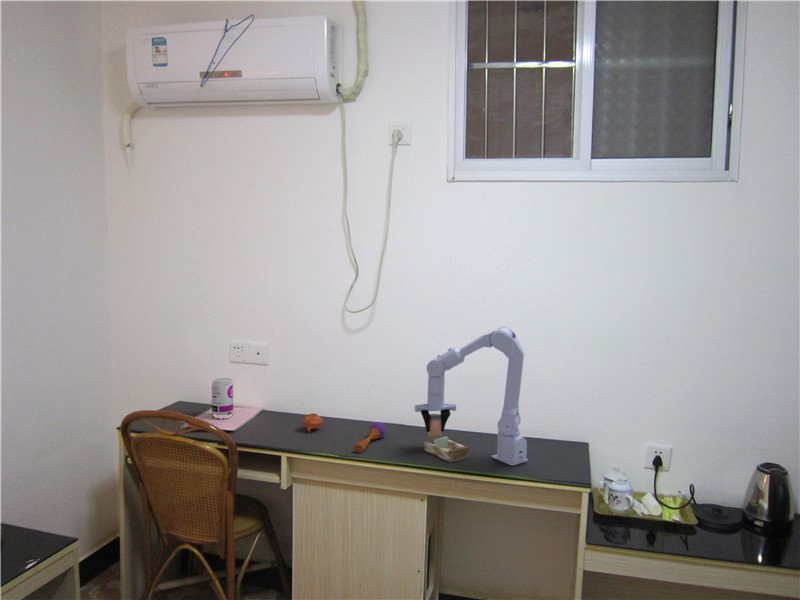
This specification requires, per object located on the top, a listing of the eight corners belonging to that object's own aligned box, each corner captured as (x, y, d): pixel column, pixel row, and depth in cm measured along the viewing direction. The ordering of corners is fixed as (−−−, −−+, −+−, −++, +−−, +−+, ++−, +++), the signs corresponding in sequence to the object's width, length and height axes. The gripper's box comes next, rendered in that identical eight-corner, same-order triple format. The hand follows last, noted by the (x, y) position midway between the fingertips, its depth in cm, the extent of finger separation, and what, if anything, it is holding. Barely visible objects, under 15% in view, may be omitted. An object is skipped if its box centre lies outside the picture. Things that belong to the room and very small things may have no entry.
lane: (469, 457, 196) (469, 446, 196) (451, 462, 191) (451, 451, 191) (442, 445, 207) (442, 435, 207) (424, 449, 202) (424, 439, 202)
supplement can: (236, 414, 238) (236, 378, 236) (228, 420, 230) (228, 383, 228) (217, 413, 239) (216, 377, 237) (208, 419, 230) (208, 382, 229)
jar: (439, 432, 207) (440, 413, 206) (442, 437, 202) (443, 417, 201) (426, 433, 206) (427, 413, 205) (429, 437, 201) (429, 418, 200)
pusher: (447, 446, 203) (448, 437, 202) (435, 449, 199) (435, 440, 199) (446, 445, 204) (446, 436, 203) (433, 449, 200) (433, 439, 200)
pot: (296, 429, 220) (299, 411, 220) (311, 429, 225) (314, 412, 226) (309, 433, 214) (312, 415, 215) (325, 434, 220) (328, 416, 221)
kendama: (349, 440, 198) (372, 420, 217) (352, 457, 199) (375, 435, 218) (365, 440, 196) (386, 419, 215) (368, 457, 197) (389, 434, 215)
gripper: (417, 396, 197) (416, 435, 198) (459, 395, 200) (457, 434, 201) (413, 391, 204) (412, 428, 205) (453, 390, 206) (452, 427, 208)
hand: (434, 430), depth 204 cm, fingers closed on jar, 5 cm apart
